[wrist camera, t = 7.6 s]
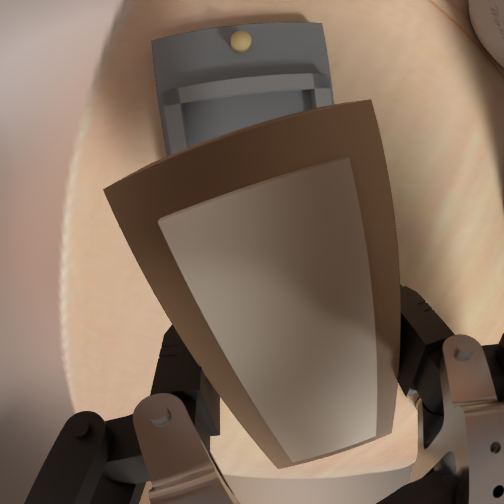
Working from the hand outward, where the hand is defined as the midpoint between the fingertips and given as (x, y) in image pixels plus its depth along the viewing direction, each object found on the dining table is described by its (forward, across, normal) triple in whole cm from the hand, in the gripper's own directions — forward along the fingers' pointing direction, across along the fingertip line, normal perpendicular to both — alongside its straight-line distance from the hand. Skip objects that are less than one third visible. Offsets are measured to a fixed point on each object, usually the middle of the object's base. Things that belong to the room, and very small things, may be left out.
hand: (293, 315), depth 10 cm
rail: (+12, 0, 0) cm, 12 cm away
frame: (+1, 0, 0) cm, 1 cm away
